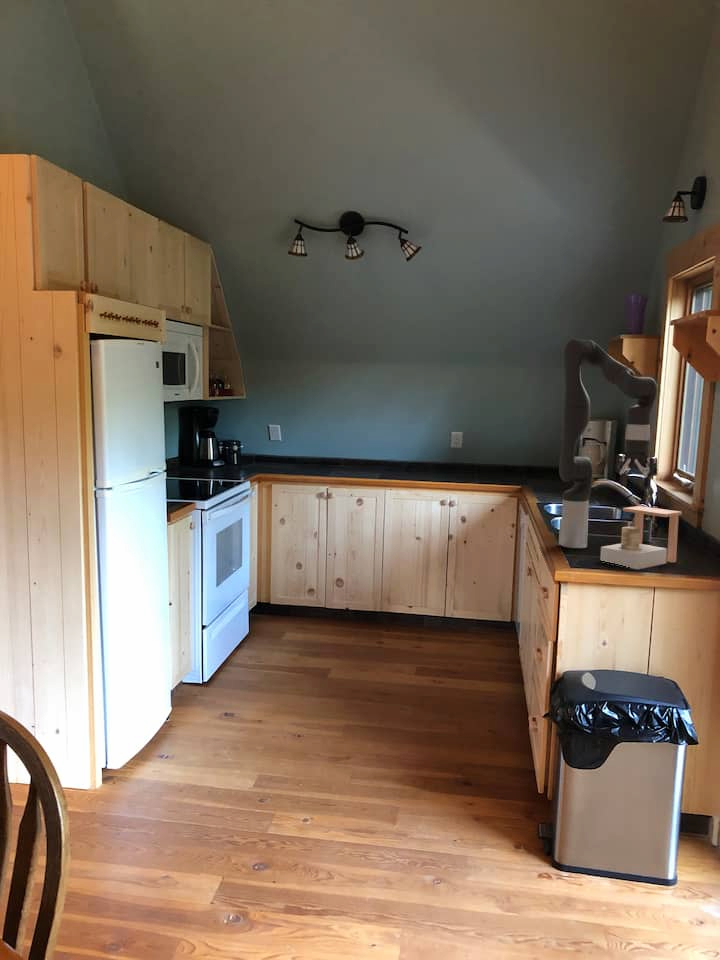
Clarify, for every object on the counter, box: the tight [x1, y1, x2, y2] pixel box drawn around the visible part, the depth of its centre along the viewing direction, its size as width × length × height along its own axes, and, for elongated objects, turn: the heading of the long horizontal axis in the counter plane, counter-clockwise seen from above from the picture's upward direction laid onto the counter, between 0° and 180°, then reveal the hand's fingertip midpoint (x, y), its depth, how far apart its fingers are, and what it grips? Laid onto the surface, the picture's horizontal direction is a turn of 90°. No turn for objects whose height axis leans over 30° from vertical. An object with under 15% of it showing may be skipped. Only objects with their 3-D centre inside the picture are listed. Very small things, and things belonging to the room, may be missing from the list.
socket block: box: [599, 543, 668, 570], centre depth 245 cm, size 14×16×5 cm
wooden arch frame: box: [622, 505, 683, 563], centre depth 249 cm, size 16×10×17 cm, turn 35°
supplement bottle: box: [632, 514, 653, 543], centre depth 282 cm, size 7×7×12 cm
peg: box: [620, 525, 640, 551], centre depth 243 cm, size 4×4×12 cm
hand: (634, 487), depth 243 cm, fingers open, 8 cm apart
